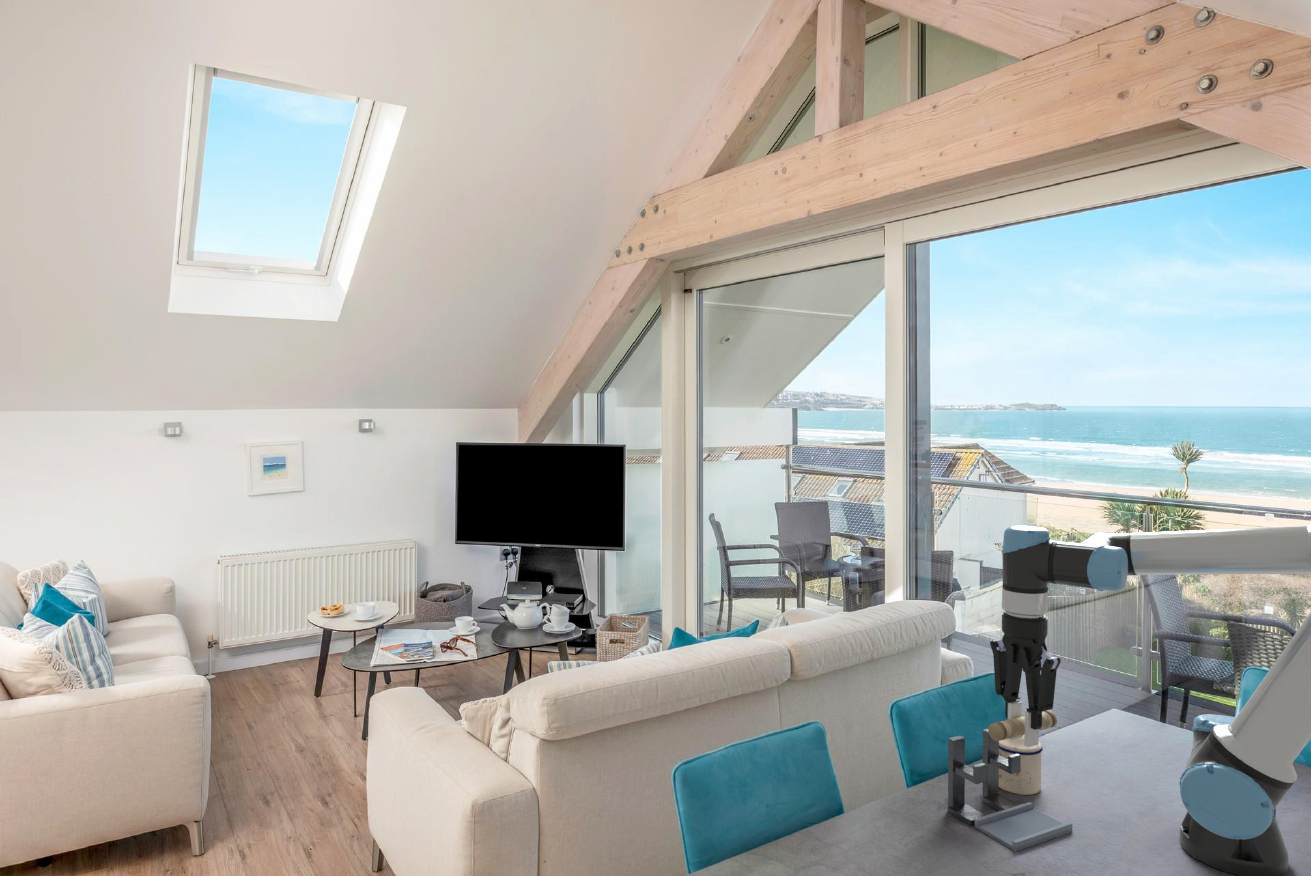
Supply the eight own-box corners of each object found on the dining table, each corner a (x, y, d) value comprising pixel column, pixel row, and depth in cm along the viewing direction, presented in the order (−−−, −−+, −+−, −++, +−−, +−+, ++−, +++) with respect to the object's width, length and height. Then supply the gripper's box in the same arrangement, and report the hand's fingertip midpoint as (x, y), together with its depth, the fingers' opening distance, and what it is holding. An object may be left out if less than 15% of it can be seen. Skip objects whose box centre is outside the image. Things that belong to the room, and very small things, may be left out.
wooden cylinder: (1044, 726, 151) (1041, 709, 151) (1058, 727, 148) (1055, 710, 149) (990, 740, 145) (986, 722, 145) (1003, 741, 142) (1000, 723, 143)
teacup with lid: (1021, 773, 170) (1022, 718, 169) (1052, 793, 161) (1053, 735, 160) (971, 779, 167) (971, 724, 166) (1000, 800, 158) (1000, 741, 158)
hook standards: (1023, 811, 154) (1023, 738, 153) (972, 827, 148) (973, 751, 148) (995, 796, 160) (995, 726, 159) (946, 811, 154) (946, 738, 154)
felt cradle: (1072, 831, 146) (1072, 823, 146) (1015, 851, 140) (1015, 842, 140) (1029, 809, 154) (1030, 801, 154) (974, 827, 148) (974, 819, 148)
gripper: (1078, 620, 140) (1076, 754, 141) (1003, 600, 155) (1001, 722, 156) (1048, 626, 137) (1046, 762, 138) (974, 605, 151) (972, 729, 152)
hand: (1022, 741), depth 147 cm, fingers closed on wooden cylinder, 3 cm apart
